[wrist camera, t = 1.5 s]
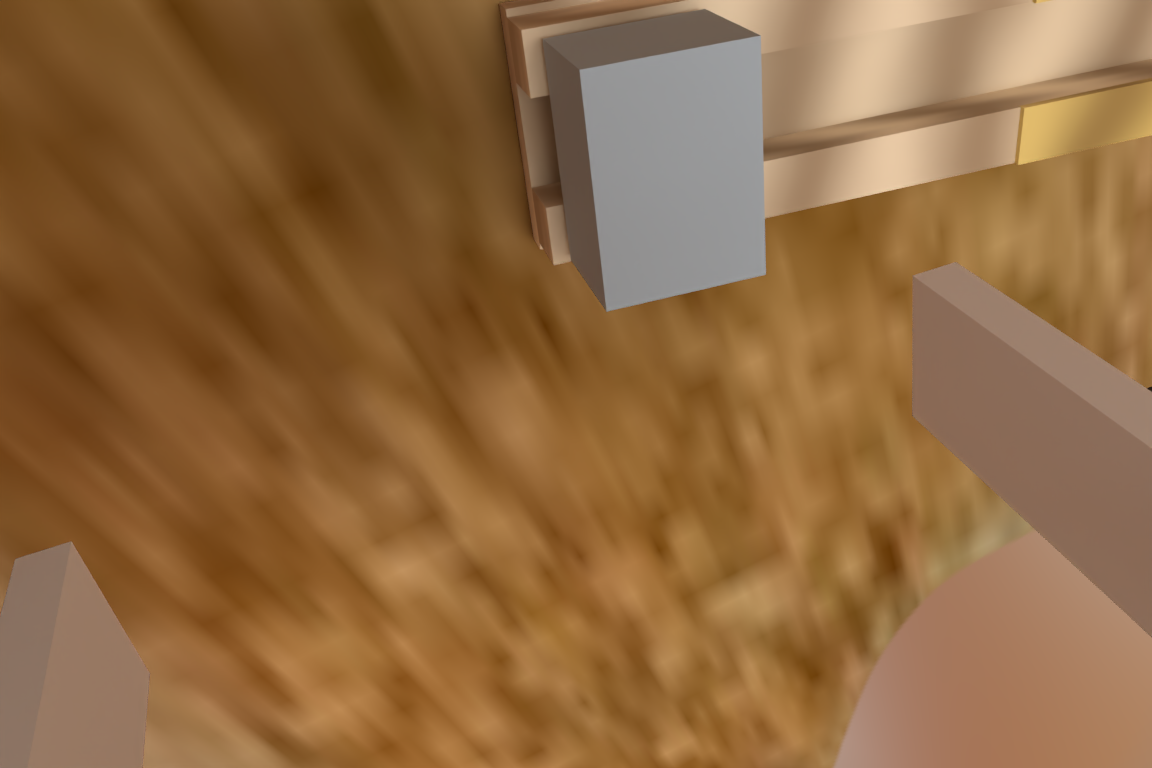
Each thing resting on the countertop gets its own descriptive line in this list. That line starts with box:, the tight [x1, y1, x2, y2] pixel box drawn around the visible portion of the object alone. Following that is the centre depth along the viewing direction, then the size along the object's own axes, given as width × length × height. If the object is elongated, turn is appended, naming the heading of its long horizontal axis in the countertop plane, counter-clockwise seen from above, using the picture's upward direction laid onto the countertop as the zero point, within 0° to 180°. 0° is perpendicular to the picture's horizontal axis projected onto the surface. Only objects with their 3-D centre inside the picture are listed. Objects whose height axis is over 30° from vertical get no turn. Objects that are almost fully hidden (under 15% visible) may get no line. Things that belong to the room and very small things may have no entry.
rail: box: [499, 0, 1152, 265], centre depth 35 cm, size 30×8×4 cm, turn 97°
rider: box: [542, 9, 766, 312], centre depth 31 cm, size 5×7×6 cm
